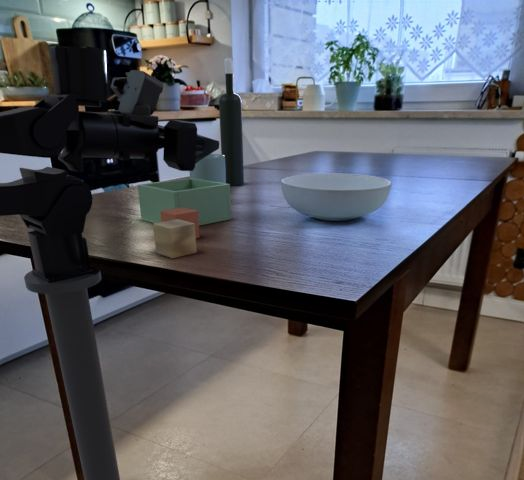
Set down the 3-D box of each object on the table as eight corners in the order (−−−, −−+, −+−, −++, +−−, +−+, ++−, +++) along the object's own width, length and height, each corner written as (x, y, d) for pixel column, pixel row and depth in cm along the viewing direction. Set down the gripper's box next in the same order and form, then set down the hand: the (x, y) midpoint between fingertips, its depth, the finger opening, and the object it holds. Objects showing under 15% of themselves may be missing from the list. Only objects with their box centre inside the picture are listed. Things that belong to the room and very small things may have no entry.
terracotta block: (177, 242, 85) (175, 214, 83) (162, 237, 88) (160, 210, 86) (199, 237, 88) (197, 210, 86) (184, 233, 91) (182, 207, 89)
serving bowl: (346, 234, 88) (349, 192, 85) (259, 217, 101) (258, 181, 98) (408, 215, 102) (412, 178, 99) (324, 202, 115) (325, 170, 112)
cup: (213, 198, 122) (211, 153, 117) (233, 202, 116) (231, 155, 112) (185, 202, 117) (181, 155, 113) (204, 207, 112) (201, 158, 107)
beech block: (172, 258, 76) (169, 228, 74) (156, 252, 79) (152, 223, 77) (196, 252, 79) (194, 223, 77) (180, 247, 82) (177, 218, 80)
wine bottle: (240, 186, 138) (236, 57, 124) (220, 185, 139) (213, 57, 126) (246, 182, 143) (242, 58, 129) (226, 182, 144) (220, 59, 131)
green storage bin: (177, 230, 93) (174, 192, 90) (141, 219, 101) (137, 184, 99) (231, 219, 101) (230, 184, 98) (193, 210, 109) (191, 177, 106)
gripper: (143, 74, 62) (243, 88, 72) (77, 66, 74) (171, 78, 84) (141, 171, 67) (236, 171, 77) (80, 148, 79) (168, 151, 89)
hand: (201, 140), depth 81 cm, fingers open, 9 cm apart
